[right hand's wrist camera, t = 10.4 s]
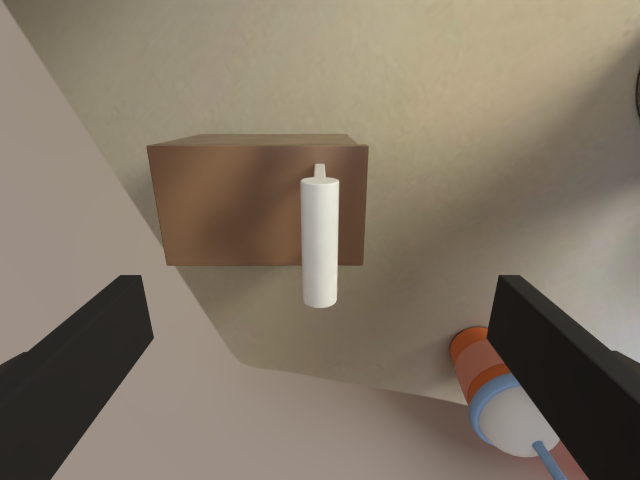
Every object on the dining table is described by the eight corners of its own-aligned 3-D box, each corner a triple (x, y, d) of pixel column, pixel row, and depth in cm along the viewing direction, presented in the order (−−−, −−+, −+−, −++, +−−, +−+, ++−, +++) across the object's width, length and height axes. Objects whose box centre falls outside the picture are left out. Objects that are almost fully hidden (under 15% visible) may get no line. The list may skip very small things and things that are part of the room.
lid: (367, 144, 25) (391, 161, 16) (361, 261, 28) (379, 324, 20) (151, 144, 25) (66, 161, 16) (170, 261, 28) (108, 325, 20)
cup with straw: (438, 378, 46) (507, 535, 29) (437, 320, 42) (514, 458, 26) (508, 371, 45) (620, 526, 28) (512, 312, 42) (641, 446, 25)
